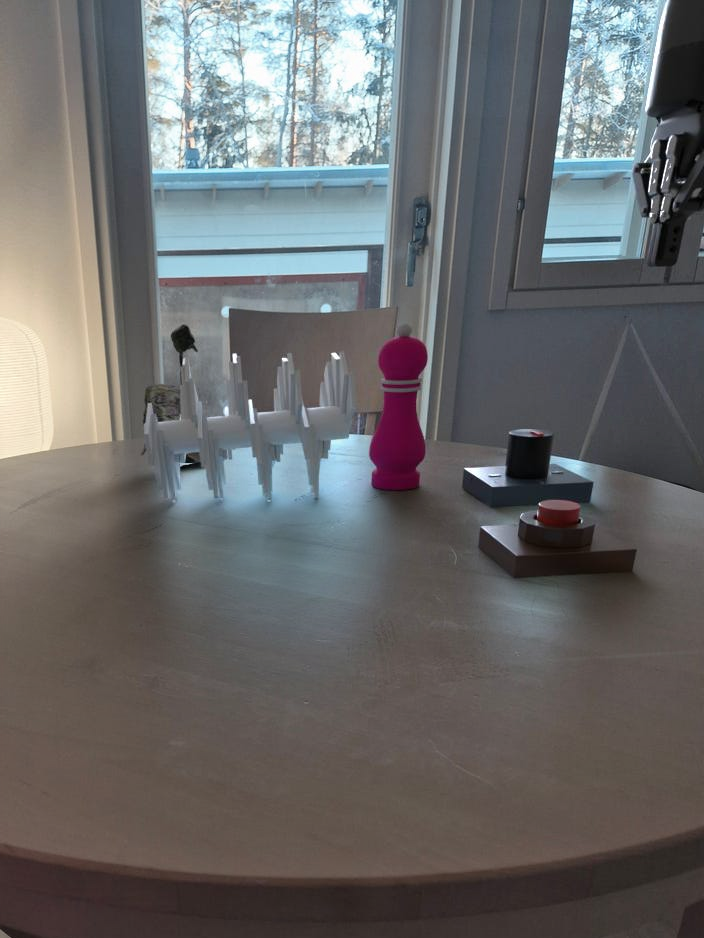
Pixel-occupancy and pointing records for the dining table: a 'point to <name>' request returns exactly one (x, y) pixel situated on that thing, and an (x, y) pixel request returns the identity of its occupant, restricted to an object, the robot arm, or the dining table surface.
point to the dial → (528, 453)
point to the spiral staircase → (252, 426)
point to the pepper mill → (399, 414)
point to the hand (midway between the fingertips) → (660, 266)
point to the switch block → (555, 548)
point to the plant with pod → (171, 389)
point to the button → (558, 512)
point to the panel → (525, 487)
